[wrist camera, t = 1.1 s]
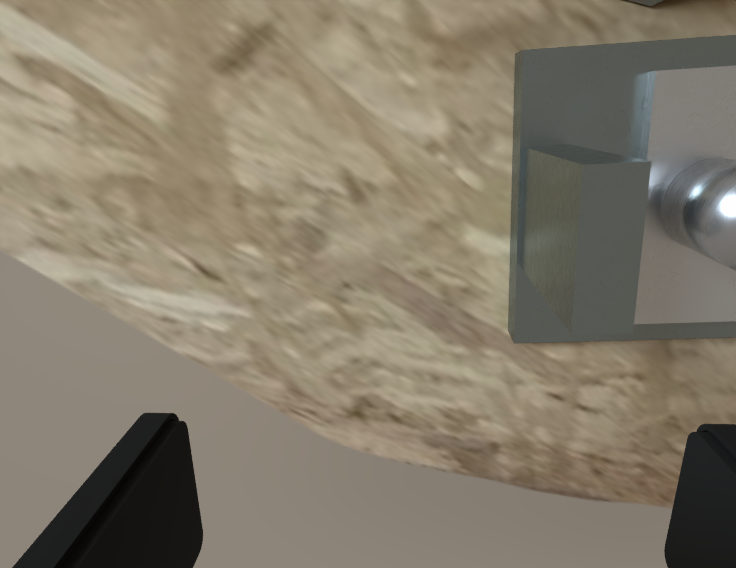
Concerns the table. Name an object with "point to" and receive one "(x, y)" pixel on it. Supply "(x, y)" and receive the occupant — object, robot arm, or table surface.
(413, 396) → the table surface
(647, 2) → the flask
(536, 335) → the scale
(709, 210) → the silver jar with knob
